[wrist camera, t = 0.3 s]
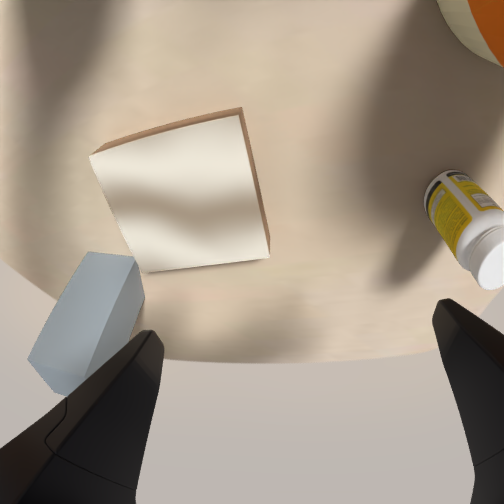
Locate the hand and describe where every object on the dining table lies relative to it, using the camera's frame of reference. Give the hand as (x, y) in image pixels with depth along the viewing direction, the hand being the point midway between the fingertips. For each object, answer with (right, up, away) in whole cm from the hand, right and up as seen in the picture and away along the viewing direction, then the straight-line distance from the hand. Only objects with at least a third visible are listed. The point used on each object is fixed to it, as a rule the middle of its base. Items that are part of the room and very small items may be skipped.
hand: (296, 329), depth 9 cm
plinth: (-6, +7, +13) cm, 16 cm away
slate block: (-14, 0, +18) cm, 23 cm away
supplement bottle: (+14, +7, +12) cm, 19 cm away
